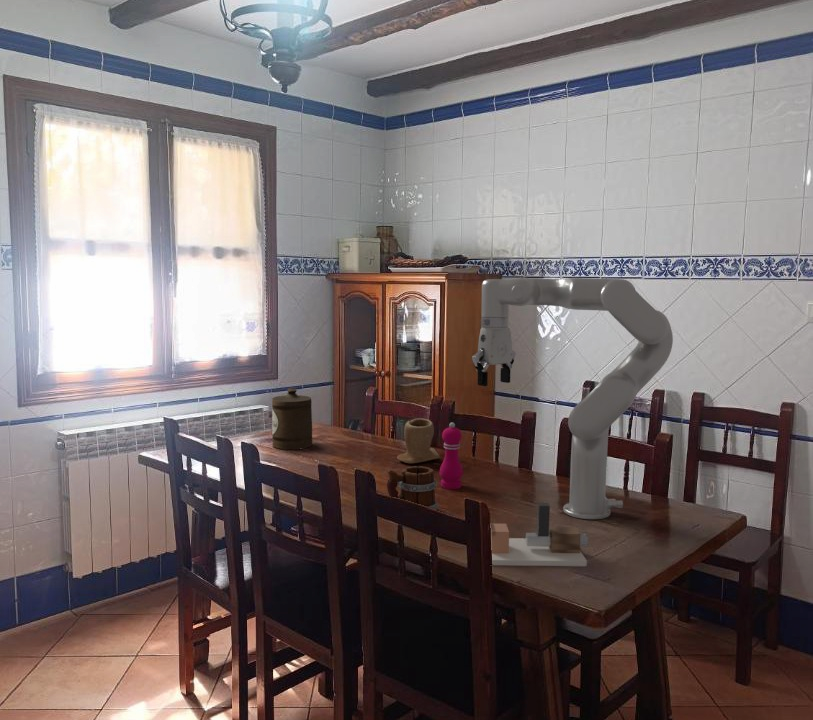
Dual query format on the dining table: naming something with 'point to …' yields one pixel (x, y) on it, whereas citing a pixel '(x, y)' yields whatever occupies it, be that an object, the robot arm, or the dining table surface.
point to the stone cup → (418, 441)
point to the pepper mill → (451, 458)
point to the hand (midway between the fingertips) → (494, 383)
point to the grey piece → (546, 529)
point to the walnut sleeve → (564, 540)
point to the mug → (414, 485)
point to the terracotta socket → (499, 538)
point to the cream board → (535, 556)
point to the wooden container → (291, 421)
